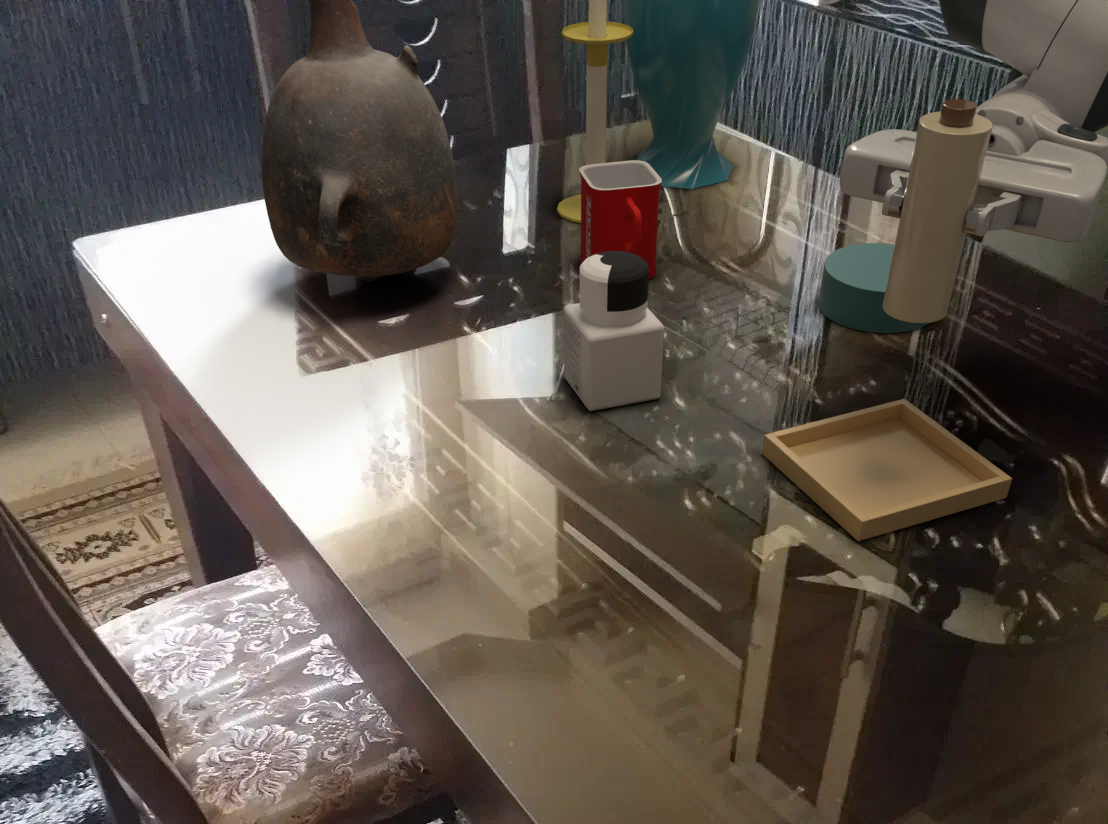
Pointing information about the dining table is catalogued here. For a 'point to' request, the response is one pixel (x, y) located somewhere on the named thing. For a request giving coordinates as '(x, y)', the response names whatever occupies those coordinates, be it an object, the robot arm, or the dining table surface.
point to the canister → (936, 211)
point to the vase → (687, 79)
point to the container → (613, 334)
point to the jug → (356, 157)
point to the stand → (860, 289)
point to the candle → (594, 87)
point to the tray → (884, 468)
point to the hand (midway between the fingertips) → (932, 215)
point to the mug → (620, 209)
